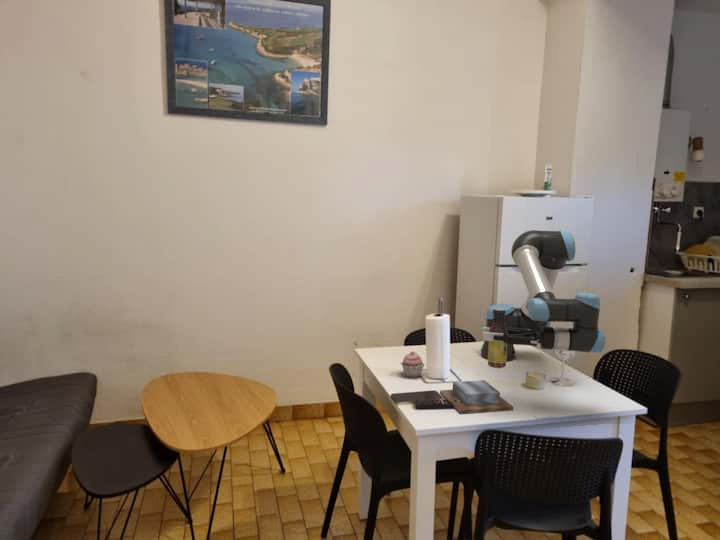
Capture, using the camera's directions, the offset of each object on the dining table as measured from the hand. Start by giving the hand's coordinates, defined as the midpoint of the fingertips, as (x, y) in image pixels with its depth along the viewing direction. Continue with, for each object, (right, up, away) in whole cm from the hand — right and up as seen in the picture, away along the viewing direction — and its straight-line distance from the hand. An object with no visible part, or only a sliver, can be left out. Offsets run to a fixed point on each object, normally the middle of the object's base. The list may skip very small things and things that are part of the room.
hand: (482, 333), depth 177 cm
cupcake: (-22, -20, +27) cm, 40 cm away
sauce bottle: (+5, -11, +1) cm, 12 cm away
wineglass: (+36, -22, +22) cm, 48 cm away
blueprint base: (-2, -24, +2) cm, 24 cm away
